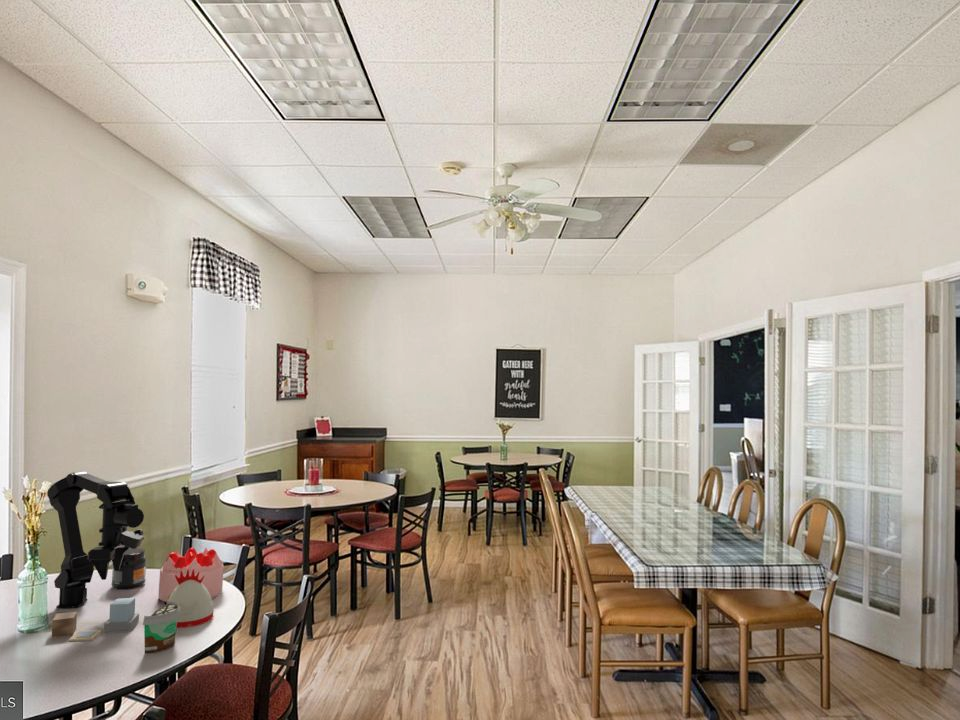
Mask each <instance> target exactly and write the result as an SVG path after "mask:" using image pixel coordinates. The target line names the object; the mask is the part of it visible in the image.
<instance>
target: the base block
mask: <svg viewBox="0 0 960 720" xmlns="http://www.w3.org/2000/svg"><path fill="white" fill-rule="evenodd" d="M139 621H140V613H135V615H134V616H133V617H132V618H131V619H130V620H129V621H128V622H109V619H107V620H106V621H105V622H104V623H103V633H105V634H106V633H107V634H109V633H124V632H131V631H132V630H134V628H135V627H136V626H137V625H138V623H139Z"/></svg>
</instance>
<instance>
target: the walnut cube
mask: <svg viewBox="0 0 960 720" xmlns="http://www.w3.org/2000/svg"><path fill="white" fill-rule="evenodd" d="M51 621H52V623H51V639H56V638H61V637H63V638H64V637H70V636H71V637H73V636H74V635H75V632H76V630H77V623H78V622H77V621H78V612H77V611H71V612H62V613H61V612H60V613H56V614H55V615H54V617H53V619H52V620H51ZM55 637H56V638H55Z"/></svg>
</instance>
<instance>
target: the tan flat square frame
mask: <svg viewBox="0 0 960 720" xmlns="http://www.w3.org/2000/svg"><path fill="white" fill-rule="evenodd" d="M102 632H103V630H102V629H97V630H96V629H93V630H92V629H91V630H79V631H77V632H76V633H74V634H73V635H72V636H71V637H70V638H69V639H68V642H82V641H83V642H84V641H85V642H86V641H87V642H88V641H93V640H95V639H96V638H97V637H98V636H99V635H101V634H102Z"/></svg>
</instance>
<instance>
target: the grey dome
mask: <svg viewBox="0 0 960 720" xmlns="http://www.w3.org/2000/svg"><path fill="white" fill-rule="evenodd" d="M198 576H199V572H198V574H197V575H196V576H195V573H194V569H193V571H192V574H191V576H189V569H188V570H187V573H186V576H185V577H184V575H183V572H182V570H181V572H180V577H178V576H177V575H175V577H176V580H177V582H178V584H179V585H178V586H177V587H176V588H175V589H174V591H173V592H172V593H171V594H170V595H169V596H168V599H169V600H168V602H175V603H177V604H178V605H179V607H180V612H181V614H180V615H179V616H178V618H177V626H176V629H177V628H191V627H195V626H199V625H202V624H205V623H208V622H209V621H211V620H212V617H213V618H214V604H213V599H211V596H210V594H209V592H208V590H207V588H206V587H205V586H204V585H203V584H202V583H201V582H202V580H203V578H204V576H203V577H202V578H201V579H200V580H199V579H198Z"/></svg>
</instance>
